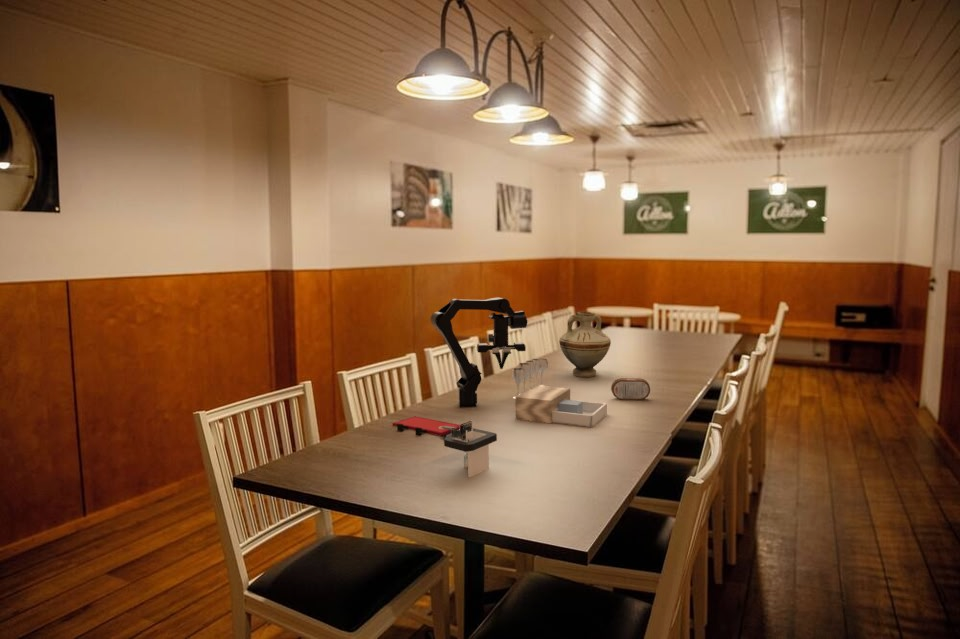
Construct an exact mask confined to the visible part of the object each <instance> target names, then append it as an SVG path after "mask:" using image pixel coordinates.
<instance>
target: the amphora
mask: <svg viewBox="0 0 960 639" xmlns="http://www.w3.org/2000/svg"><path fill="white" fill-rule="evenodd" d="M576 321H578V322H579V326H578V327H575V328H573V324H574V323H575V322H576ZM593 321H596V326H595V327H594V326H593V327H592V325H591V324H592V322H593ZM572 328H573V329H572ZM566 330H567V331H566V332H565V333H563V334H562V335H561V336H560V337H559V341H558V342H559V347H560V349H561V351H562V354H563V355H564V357H565V358H566V359H567V360H568V361H569V362H570V364H572V365H573V366H574V367H575V368H573V370H572V374H573V376H575V377H578V378H592V377H594V376H596V375H597V369H596V368H594V367H596V366H597V365H598V364H599V363H601V361H603V359H604V358H605V357H606V356H607V354H608V352H609V351H610V350H609V349H610V347H611V344H612V343H611V338H610V337H609V336H608V335H607V334H605V333H604V332H603V331H602V318H601V316H600V315H598V314H596V313H594V312H591V311H590V312H589V311H577V312H576V314H572V315H570V316H569V317H568V320H567V329H566Z"/></svg>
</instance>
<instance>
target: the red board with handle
mask: <svg viewBox="0 0 960 639" xmlns="http://www.w3.org/2000/svg"><path fill="white" fill-rule="evenodd" d="M392 426H395V427H397V430H396V431H398V432H400V433H401V432H404V430H411V429H412V431H415V436H418V437H421V435H422V434H430V435H435V436H439V437H440V438H442V437H443V438H444V439H445V438H446V437H448V436H450V435H452V427H453V428H455V429H456V431H458V430H457V429H460V424H456V423H452V422H446V421H441V420H436V419H431V418H427V417H426V418H425V417H420V416H412V417H409V418H405V419H402V420H398V421H395V422H392ZM461 426H462V425H461ZM453 430H454V429H453ZM454 433H455V431H454Z"/></svg>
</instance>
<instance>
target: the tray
mask: <svg viewBox="0 0 960 639" xmlns="http://www.w3.org/2000/svg"><path fill="white" fill-rule="evenodd" d="M573 400H574V401H578V400H577V399H573ZM582 401H583V414H576V413H567V412H559V411H558V408H556V409H555V410H553V411H552V422H553V423H552V424H558V425H559V424H561V425H567V424H568V425H570V426H575V425H578V426H577V427H583V426H586V427H585V428H591V427H592V428H594V426H596V425H597V424H599V423H600V422H601V420H603V419H604V417H606V416H607V414H608V403H604V402H595V401H585V400H582Z"/></svg>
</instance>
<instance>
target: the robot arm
mask: <svg viewBox="0 0 960 639" xmlns="http://www.w3.org/2000/svg"><path fill="white" fill-rule="evenodd" d="M460 310H465V311H466V310H469V311H470V310H473V311H475V310H476V311H478V310H479V311H480V310H482V311H483V310H485V311H491V314H490V315H489V316H488V317H487V319H490V320H493V334H492V333H490V334H489V333H488V335H487V338H488V340H487V342H488V343H492V344H488V343H486V342H485V343H484V342H483V343H481V342H479V343H477V345H476V351H477V353H480V354H481V353H487V352H488V351H491V354H492V355H495V358H496V359H497V363H498V366H499V370H503V368H504V366H505V363H506V360H507V358H508V357H509V355H510V354H512V352H511V351H512V350H516V351H517V352H526V350H527V349H526V344H525V343H524V342H523V341H518V342H517V341H516V342H515V341H513V344H509V328H510V329H511V330H515V329H517V330H518V329H525V328H527V326H528V319H527V316H526V314H525V311H523V310H518V311H514V309H513V308H512V307H511V304H510V301H509V300H508V298H505V297H504V298H503V297H499V296H497V297H492V298H487V299H458V298H452V299H450V300H449V301H448V303H447V304H445V305H444V306H442V307H441V308H439V310H438V311H435V312H433V313H432V314H431V315H430V320H429V321H430V323H431V325H432V326H433V327H434V329H436V330H437V332H438V333H439V334H440V335H441V336H442V338H443V339H444V341H445V343H446V346H447V347H448V348H449V351H450V352H451V354H452V356H453V358H454V359H455V361H456V363H457V365H458V368H459V373H460V378H459V379H457V381H456V382H455V383H456V386H457V388H458V406H459V407H460V408H467V407H477V404H478V392H477V390H478V387H479V385H480V384H481V382H482V375H483V374H482V372H481V371H480V370H479V367H478V365H477V364H475V363H473V362H470V361H469V359H468V358H467V356H466V353H465V352H464V349H463V348H462V346H461V344H460V342H459V341H458V338H457V336H456V335H455V333H454V329H453V324H452V320H453V319H454V318H455V317H456V315H457V313H458V311H460ZM495 312H496V313H495ZM500 350H501V352H500ZM459 407H458V408H459Z"/></svg>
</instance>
